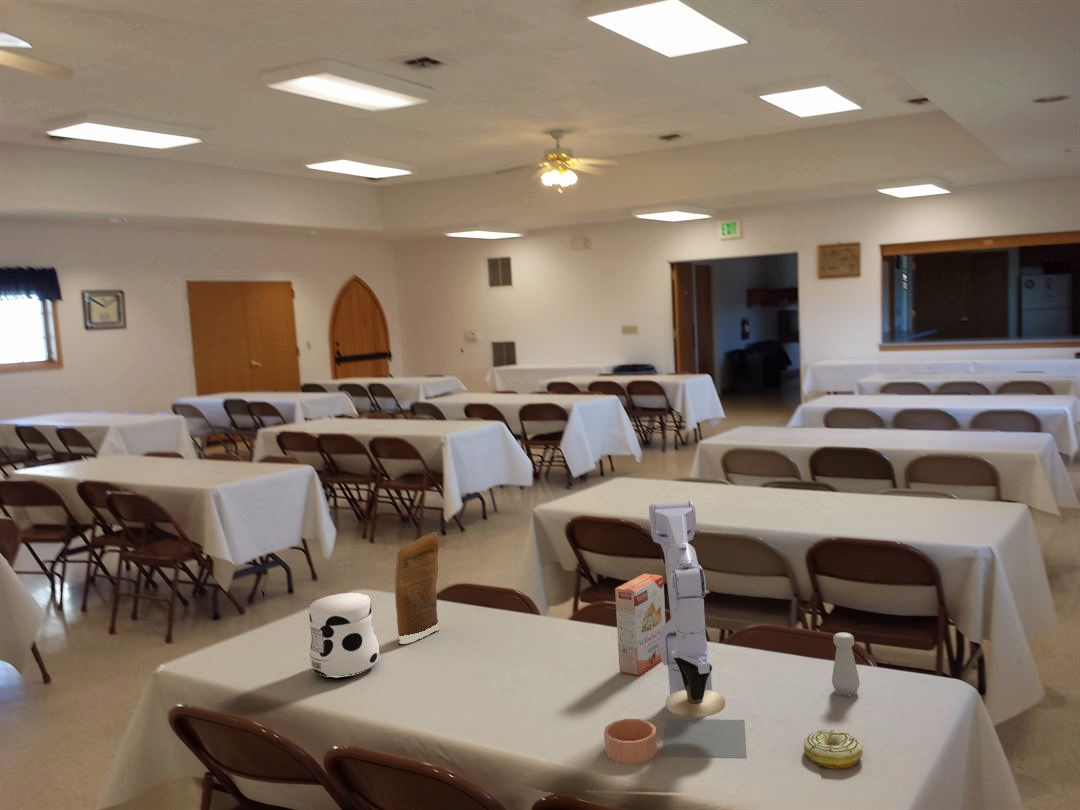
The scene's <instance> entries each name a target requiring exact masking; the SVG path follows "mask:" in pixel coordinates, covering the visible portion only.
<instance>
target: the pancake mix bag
mask: <svg viewBox="0 0 1080 810" xmlns="http://www.w3.org/2000/svg"><path fill="white" fill-rule="evenodd" d="M439 545H440V544H439V537H438V533H437V532H435V531H434V532H430V533H428V534H425V535H423V536H422V537H419V538H417V539H416V540H414V541H412V542H409V543H407V544H405V545H403V546H401V547H399V548H398V551H397V552H396V562H395V573H394V576H395V577H394V591H395V592H394V598H395V599H394V601H395V609H396V625H397V631H398V637H399V636H404V635H410V634H415V633H419V632H422V631H425V630H426V629H428V628H431V627H432V626H434V625H436V624H437V623H438V621H439V619H438V609H437V608H438V605H437V604H438V599H437V598H438V597H437V579H438V575H439V562H438V560H439V558H438V557H439Z"/></svg>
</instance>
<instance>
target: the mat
mask: <svg viewBox="0 0 1080 810" xmlns="http://www.w3.org/2000/svg"><path fill="white" fill-rule="evenodd" d="M663 737H664V738H663V742H662V743H663V745H662V749H661V750H662V751H661V757H667V758H668V757H670V758H709V759H711V758H714V759H715V758H719V759H747V756H748V755H747V738H746V737H747V736H746V723H745V719H718V718H717V719H711V718H710V719H708V718H705V719H704V718H703V719H702V718H700V719H699V718H666V719H665V726H664V735H663Z"/></svg>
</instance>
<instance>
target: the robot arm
mask: <svg viewBox="0 0 1080 810" xmlns="http://www.w3.org/2000/svg"><path fill="white" fill-rule="evenodd" d="M648 512H649V513H648V514H649V515H648V517H649V524H650V532H651V533H650V534H651V538H652V541H653V542H654V543H656V544H659V545H660V546H661V549H662V551H663V555H664V561H665V562H664V563H665V574H666V583H667V592H668V593H667V594H668V604H669V613H670V615H669V616H670V619H669V620H668V621H667V622H666V624H665V625H664V626H662V628H661V630H660V651H661V659H662V660H661V663H662V664H663V665H664V666H667V672H668V687H669V695H668V696H670V695H671V694H673V693H675V692H678V691H682V690H686V692H687V687H686V686H687V685H688V684H689V689H690V694H691V697H692V699H693V700H699V699H703V697H704V692H705V690H710V691H714V689H713V679H712V678H713V677H712V671H713V665H712V664H710V663H709V660H708V659H709V648H708V641H707V635H706V634H707V633H706V619H705V604H704V603H705V600H704V598H706V593H707V592H706V590H707V583H706V576H705V573H704V570H703V567H702V566H701V565H700V564H699V561H698V557H697V552H696V550H695V547H694V546H692V545H691V544H690V543H689V542H690V541H692V540H694V536H695V533H696V532H695V531H696V526H697V525H696V524H697V517H696V516H697V515H696V506H695V503H694V502H693V501H692V500H688V501H679V502H678V501H677V502H663V503H653V502H652V503H650V505H649V506H648ZM671 634H672V635H671ZM714 692H715V691H714Z"/></svg>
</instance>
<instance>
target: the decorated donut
mask: <svg viewBox="0 0 1080 810" xmlns="http://www.w3.org/2000/svg"><path fill="white" fill-rule="evenodd" d="M803 749H804V752H805V755H806V757H808V759H809V760H810V761H812V762H813V763H815V764H817V765H818V766H820V767H822V768H827V769H833V770H837V769H846V768H851V767H852V766H854V765H856V764H857V763H858V762H859V761H860V759H861V758H862V755H863V753H864V752H863V749H864V745H863V744H862V743H861V742H860V741H859V740H858V738H856V737H855V736H854V735H851V734H850V733H849V732H848V733H847V732H844V731H840V730H837V729H836V730H835V729H821V730H818V731H815V732H812V733H810V734H809V735H807V736H806V738H805V739H804V742H803Z"/></svg>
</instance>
